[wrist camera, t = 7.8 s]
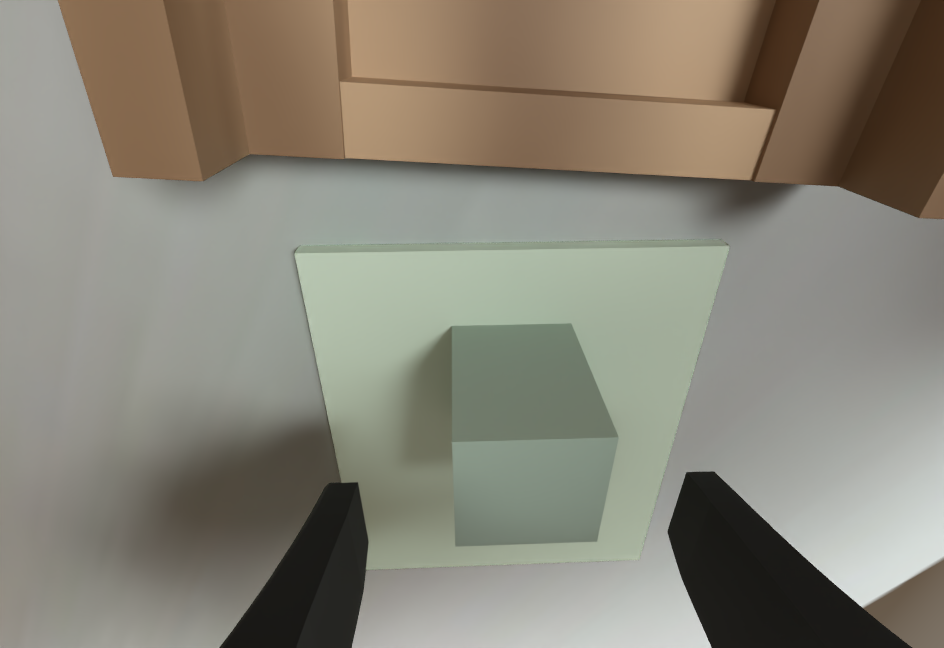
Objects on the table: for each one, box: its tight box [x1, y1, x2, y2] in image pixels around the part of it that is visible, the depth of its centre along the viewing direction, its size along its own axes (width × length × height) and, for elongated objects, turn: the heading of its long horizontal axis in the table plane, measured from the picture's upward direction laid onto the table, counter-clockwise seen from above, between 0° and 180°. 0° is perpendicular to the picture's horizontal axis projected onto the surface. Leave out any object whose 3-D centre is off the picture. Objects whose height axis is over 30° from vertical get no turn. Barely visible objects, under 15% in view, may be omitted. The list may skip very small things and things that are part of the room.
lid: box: [294, 239, 730, 570], centre depth 13 cm, size 10×12×5 cm
